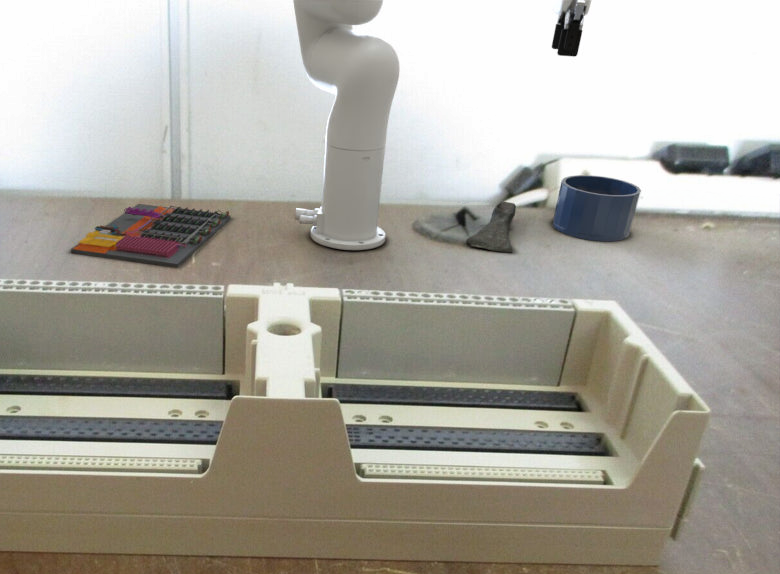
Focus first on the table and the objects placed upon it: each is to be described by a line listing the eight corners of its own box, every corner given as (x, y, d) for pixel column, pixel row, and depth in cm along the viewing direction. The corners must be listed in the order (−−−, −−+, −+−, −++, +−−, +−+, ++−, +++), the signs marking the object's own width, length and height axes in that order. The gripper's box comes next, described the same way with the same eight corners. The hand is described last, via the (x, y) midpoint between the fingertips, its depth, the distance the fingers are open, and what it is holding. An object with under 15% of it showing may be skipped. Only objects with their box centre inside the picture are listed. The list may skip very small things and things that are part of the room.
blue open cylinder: (556, 236, 134) (566, 191, 130) (549, 214, 146) (558, 172, 142) (635, 244, 132) (647, 199, 128) (621, 221, 144) (633, 179, 140)
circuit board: (177, 267, 115) (177, 250, 113) (71, 252, 118) (69, 235, 117) (230, 218, 136) (230, 203, 134) (138, 206, 139) (137, 191, 138)
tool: (509, 261, 126) (514, 244, 125) (463, 250, 128) (467, 234, 126) (523, 214, 142) (527, 198, 140) (482, 205, 144) (486, 189, 142)
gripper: (557, -63, 132) (537, 45, 140) (569, -64, 117) (545, 57, 125) (603, -61, 130) (579, 48, 139) (620, -62, 116) (593, 60, 124)
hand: (563, 52), depth 132 cm, fingers open, 9 cm apart
